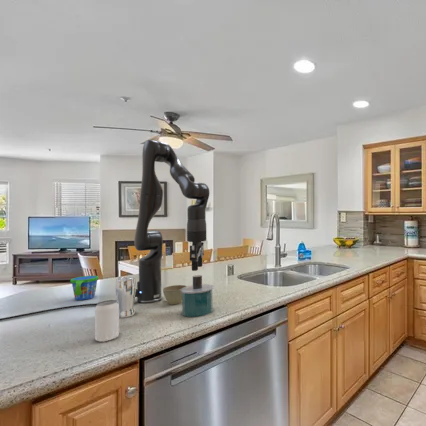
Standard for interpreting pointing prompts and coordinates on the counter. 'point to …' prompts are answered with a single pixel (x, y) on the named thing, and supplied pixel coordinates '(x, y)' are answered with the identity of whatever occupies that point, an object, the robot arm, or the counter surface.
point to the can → (106, 320)
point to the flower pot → (173, 294)
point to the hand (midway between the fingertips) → (197, 268)
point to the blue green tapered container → (84, 287)
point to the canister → (197, 304)
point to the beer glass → (126, 296)
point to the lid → (197, 286)
